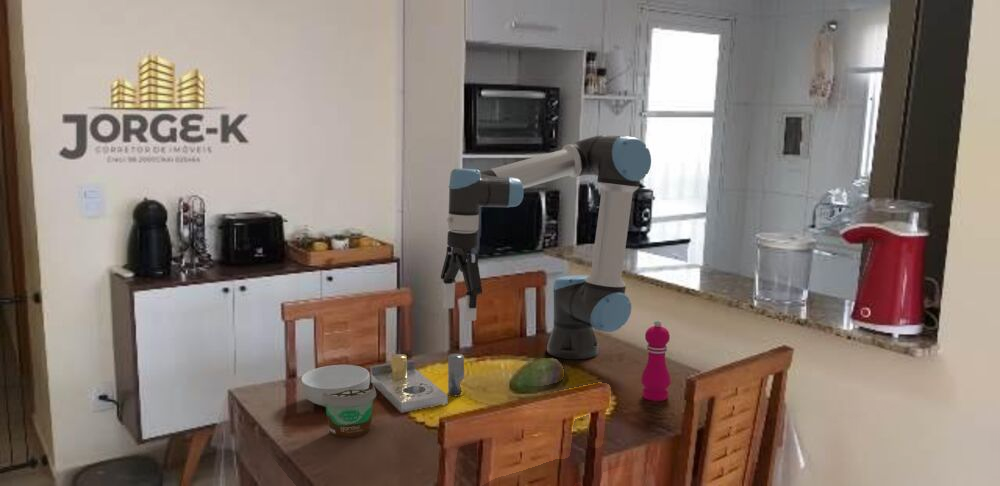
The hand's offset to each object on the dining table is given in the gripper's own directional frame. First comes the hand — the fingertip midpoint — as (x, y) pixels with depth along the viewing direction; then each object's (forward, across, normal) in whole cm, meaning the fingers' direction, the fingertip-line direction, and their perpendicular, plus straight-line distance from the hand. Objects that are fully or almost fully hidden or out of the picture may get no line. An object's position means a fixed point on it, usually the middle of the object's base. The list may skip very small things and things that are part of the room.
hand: (459, 314), depth 201 cm
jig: (+21, -6, -11) cm, 25 cm away
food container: (+23, +13, -31) cm, 41 cm away
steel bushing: (+21, 0, 0) cm, 21 cm away
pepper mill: (+18, +25, +44) cm, 54 cm away
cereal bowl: (+23, -8, -29) cm, 38 cm away
